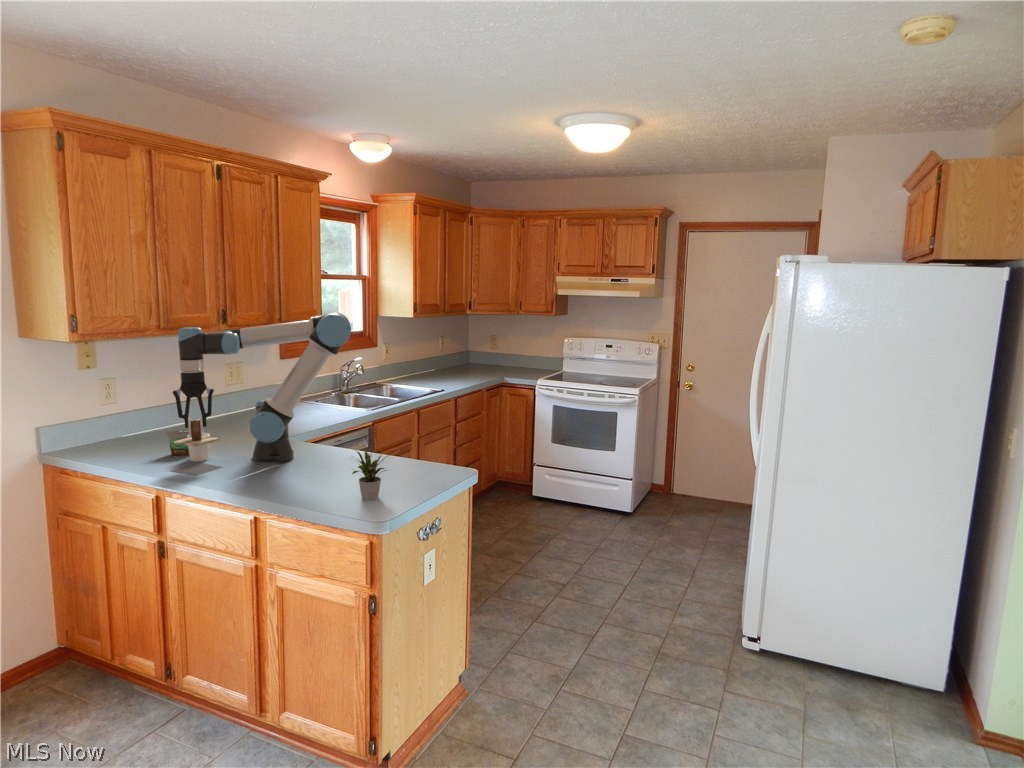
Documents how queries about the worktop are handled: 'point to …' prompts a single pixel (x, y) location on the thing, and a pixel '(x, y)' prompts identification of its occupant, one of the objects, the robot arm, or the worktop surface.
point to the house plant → (369, 477)
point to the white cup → (200, 451)
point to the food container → (176, 448)
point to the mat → (196, 469)
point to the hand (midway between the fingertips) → (196, 436)
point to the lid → (196, 436)
